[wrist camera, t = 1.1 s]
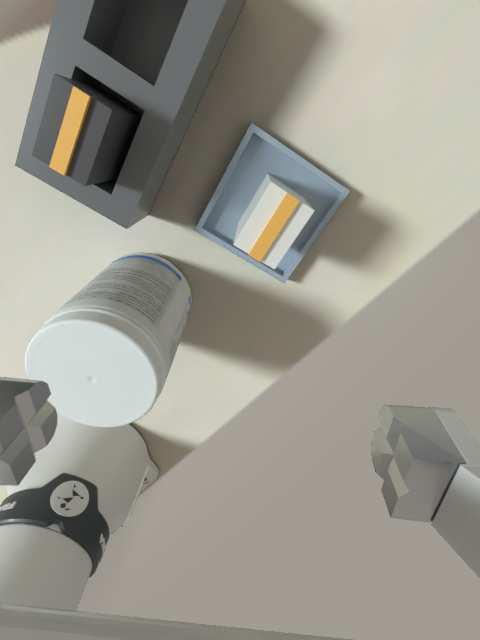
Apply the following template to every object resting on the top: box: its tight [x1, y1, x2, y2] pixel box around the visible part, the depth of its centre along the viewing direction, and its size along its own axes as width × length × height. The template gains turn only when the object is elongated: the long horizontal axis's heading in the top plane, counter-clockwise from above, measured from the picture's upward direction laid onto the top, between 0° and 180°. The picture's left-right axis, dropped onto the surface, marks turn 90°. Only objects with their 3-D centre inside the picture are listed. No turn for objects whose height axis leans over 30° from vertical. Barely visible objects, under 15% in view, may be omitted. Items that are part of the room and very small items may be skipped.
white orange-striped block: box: [233, 173, 315, 270], centre depth 28 cm, size 5×4×8 cm
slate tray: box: [195, 123, 350, 283], centre depth 31 cm, size 10×10×2 cm
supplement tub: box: [25, 253, 192, 427], centre depth 30 cm, size 10×10×15 cm
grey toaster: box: [15, 0, 246, 229], centre depth 24 cm, size 18×9×10 cm, turn 149°
